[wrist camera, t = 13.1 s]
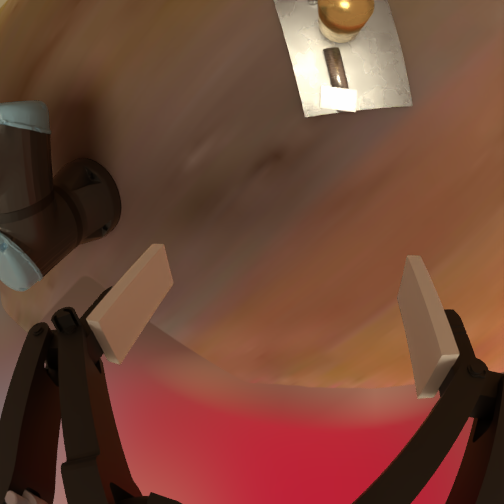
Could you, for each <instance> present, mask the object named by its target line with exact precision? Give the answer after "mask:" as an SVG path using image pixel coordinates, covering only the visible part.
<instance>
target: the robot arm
mask: <svg viewBox="0 0 504 504" xmlns="http://www.w3.org/2000/svg"><path fill="white" fill-rule="evenodd" d="M50 134H51V130H50V126H49V111H48V107H47V105H46V104H45V103H44V102H42V101H37V100H34V101H17V102H7V103H0V280H1V281H2V282H3V283H4V284H5V285H7V286H8V287H10V288H11V289H13V290H16V291H25V290H27V289H29V288H30V287H31V286H32V285H34V284H35V283H36V282H37V281H40V280H41V279H42V278H43V277H44V276H45V275H46V274H47V273H48V272H49V271H50V270H51V269H52V268H53V267H54V266H56V265H57V264H58V263H59V262H60V261H61V260H62V259H63V258H64V257H65V256H67V255H68V254H69V253H70V252H71V251H72V250H73V249H74V248H76V247H77V246H78V245H80V244H84V243H87V242H91V241H94V240H97V239H100V238H102V237H104V236H105V235H107V234H108V233H109V232H110V231H112V230H113V229H114V227H115V226H116V224H117V223H118V220H119V217H120V210H121V205H120V197H119V193H118V190H117V187H116V185H115V183H114V181H113V179H112V177H111V176H110V175H109V173H108V172H107V171H106V170H105V169H104V168H103V167H102V166H101V165H100V164H98V163H97V162H95V161H93V160H90V159H77V160H75V161H73V162H70V163H68V164H67V165H65V166H64V167H63V168H62V169H61V170H60V171H59V172H58V173H57V174H56V175H55V176H54V178H53V176H52V164H51V145H50ZM173 284H174V283H173V279H172V275H171V271H170V267H169V263H168V259H167V255H166V251H165V246H164V244H152V245H151V246H150V247H149V248H148V249H147V250H146V251H145V252H144V253H143V254H142V256H141V257H140V258H139V259H138V260H137V261H136V262H135V263H134V264H133V265H132V266H131V268H130V269H129V270H128V271H127V272H126V273H125V274H124V275H123V276H122V277H121V279H120V280H119V281H118V282H117V283H116V284H115V285H114V287H110V288H108V289H107V290H105V291H104V292H103V293H102V294H101V295H100V296H99V297H98V299H97V300H96V301H95V302H94V303H93V305H91V306H90V307H89V309H88V310H87V311H86V312H85V313H84V314H83V316H82V317H81V318H80V319H79V318H78V316H77V314H76V312H75V310H74V309H73V308H72V307H65V308H62V309H60V310H58V311H57V312H55V314H54V315H53V316H52V319H51V321H52V322H53V324H54V326H55V328H56V330H51V329H50V328H49V326H48V325H47V323H45V322H41V323H37V324H36V325H34V326H33V327H32V328H31V329H30V330H29V332H28V335H27V337H26V340H25V342H24V345H23V347H22V350H21V353H20V356H19V358H18V361H17V365H16V367H15V370H14V373H13V376H12V379H11V382H10V386H9V389H8V392H7V396H6V400H5V403H4V407H3V411H2V414H1V419H0V504H53V499H54V493H55V477H56V460H57V448H58V438H59V430H60V422H61V420H62V428H63V437H64V444H65V451H66V457H67V461H66V462H65V463H62V465H61V474H62V479H63V484H64V489H65V494H66V498H67V502H68V504H182V503H180V502H178V501H176V500H172V499H169V498H166V497H163V496H160V495H158V494H155V493H152V492H151V493H150V495H149V496H142V494H141V492H140V490H139V488H138V487H137V485H136V484H135V483H134V481H133V479H132V477H131V474H130V471H129V468H128V465H127V462H126V459H125V455H124V452H123V449H122V445H121V442H120V438H119V435H118V431H117V427H116V424H115V419H114V415H113V411H112V407H111V403H110V399H109V394H108V389H107V384H106V379H105V373H104V368H103V362H102V360H101V358H100V357H101V356H102V354H103V353H104V354H105V356H106V358H107V360H108V361H110V362H113V363H117V364H121V363H122V361H123V360H124V358H125V357H126V355H127V353H128V352H129V350H130V349H131V347H132V346H133V344H134V342H135V341H136V339H137V338H138V336H139V335H140V333H141V332H142V330H143V329H144V327H145V326H146V324H147V322H148V321H149V320H150V318H151V317H152V315H153V313H154V312H155V310H156V309H157V308H158V306H159V305H160V303H161V302H162V300H163V299H164V297H165V296H166V294H167V293H168V291H169V290H170V288H171V287H172V285H173ZM397 299H398V303H399V307H400V311H401V315H402V320H403V324H404V328H405V333H406V337H407V342H408V347H409V352H410V357H411V362H412V368H413V373H414V379H415V385H416V392H417V398H418V399H419V398H433V397H434V396H435V395H436V393H437V391H438V390H439V391H440V399H439V400H438V402H437V403H436V405H435V406H434V408H433V409H432V411H431V412H430V414H429V415H428V417H427V418H426V420H425V421H424V422H423V424H422V425H421V426H420V428H419V429H418V430H417V432H416V433H415V434H414V436H413V437H412V438H411V440H410V441H409V442H408V443H407V445H406V446H405V447H404V448H403V450H402V451H401V452H400V453H399V454H398V456H397V457H396V458H395V459H394V460H393V461H392V462H391V464H390V465H389V466H388V467H387V468H386V469H385V471H384V472H383V473H382V474H381V475H380V476H379V477H378V478H377V479H376V480H375V481H374V482H373V483H372V484H371V485H370V486H369V488H367V489H366V491H364V492H363V493H362V494H361V495H360V496H359V497H358V498H357V499H356V500H355V501H354V502H353V503H352V504H411V502H412V501H413V500H414V499H415V498H416V496H417V495H418V494H419V493H420V491H421V490H422V489H423V487H424V486H425V485H426V484H427V482H428V481H429V480H430V478H431V477H432V475H433V474H434V473H435V471H436V470H437V468H438V467H439V465H440V464H441V462H442V461H443V459H444V458H445V456H446V455H447V453H448V452H449V450H450V449H451V447H452V445H453V444H454V442H455V441H456V439H457V437H458V436H459V434H460V432H461V430H462V429H463V427H464V425H465V423H466V421H467V420H468V417H473V418H474V421H473V425H472V429H471V433H470V436H469V440H468V443H467V446H466V450H465V453H464V456H463V459H462V462H461V465H460V468H459V471H458V474H457V476H456V479H455V482H454V484H453V487H452V489H451V492H450V494H449V496H448V499H447V501H446V503H445V504H504V374H501V373H497V372H492V371H489V370H488V367H487V366H486V364H485V363H484V362H483V361H481V360H480V359H477V358H476V357H475V354H474V351H473V348H472V346H471V343H470V340H469V338H468V335H467V334H466V330H465V328H464V325H463V323H462V320H461V318H460V316H459V315H458V314H457V313H456V312H455V311H454V310H444V309H443V306H442V304H441V301H440V299H439V297H438V294H437V292H436V289H435V287H434V285H433V282H432V280H431V278H430V276H429V273H428V271H427V269H426V267H425V265H424V262H423V260H422V258H421V256H413V255H407V258H406V263H405V267H404V272H403V276H402V280H401V285H400V289H399V293H398V297H397ZM44 362H45V363H46V367H45V368H44Z"/></svg>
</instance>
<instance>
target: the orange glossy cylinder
mask: <svg viewBox="0 0 504 504" xmlns="http://www.w3.org/2000/svg"><path fill="white" fill-rule="evenodd" d="M374 7H375V5H374V0H318V24H319V29H320V31H321V32H322V34H323V35H324V36H325V37H326V38H328V39H329V40H331V41H334V42H337V43H346V42H349V41H352V40H353V39H355V38H356V36H357V35H358V34H359V32H360V31H361V29H362V28H363V26H364V25H365V24H366V22H367V21H368V19H369V18H370V17H371V15H372V14H373V11H374Z"/></svg>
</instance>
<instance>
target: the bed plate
mask: <svg viewBox="0 0 504 504" xmlns="http://www.w3.org/2000/svg"><path fill="white" fill-rule="evenodd" d="M274 3H275V6H276V9H277V13H278V16H279V19H280V22H281V26H282V29H283V33H284V36H285V40H286V43H287V47H288V50H289V54H290V58H291V61H292V65H293V69H294V73H295V77H296V81H297V85H298V89H299V93H300V97H301V101H302V106H303V110H304V114H305V117H311V116H317V115H324V114H331V113H339V112H347V111H351V112H356V110H365V109H375V108H388V107H402V106H413V105H412V99H411V93H410V87H409V82H408V77H407V72H406V67H405V63H404V58H403V54H402V50H401V46H400V42H399V38H398V34H397V31H396V27H395V24H394V20H393V17H392V14H391V10H390V7H389V4H388V1H387V0H374V5H375V7H374V11H373V14H372V15H371V17H370V18H369V19H368V21H367V22H366V24H365V25H364V26H363V28H362V29H361V31H360V32H359V34H358V35H357V36H356V38H355V39H353V40H352V41H349V42H346V43H337V42H334V41H331V40H329V39H328V38H326V37H325V36H324V35H323V34H322V32H321V31H320V29H319V24H318V0H274Z"/></svg>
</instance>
